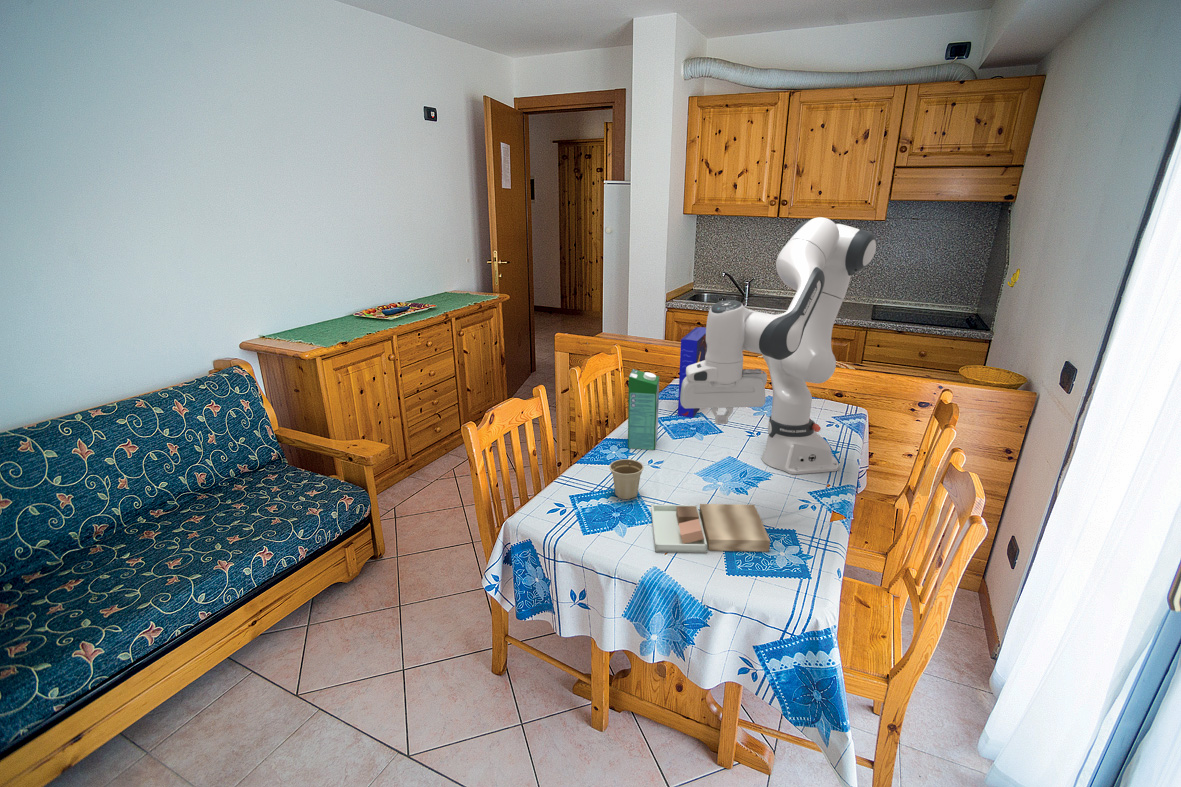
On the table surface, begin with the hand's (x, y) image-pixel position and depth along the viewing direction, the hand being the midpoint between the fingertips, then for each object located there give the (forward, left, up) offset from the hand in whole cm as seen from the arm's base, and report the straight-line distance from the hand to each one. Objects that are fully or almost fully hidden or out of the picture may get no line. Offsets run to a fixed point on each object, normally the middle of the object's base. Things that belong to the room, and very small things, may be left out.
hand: (721, 423), depth 138 cm
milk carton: (+17, -43, -26) cm, 53 cm away
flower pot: (+23, -9, -26) cm, 36 cm away
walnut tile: (+8, +5, -25) cm, 27 cm away
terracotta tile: (+8, +13, -24) cm, 28 cm away
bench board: (-3, +9, -26) cm, 27 cm away
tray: (+11, +9, -26) cm, 29 cm away
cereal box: (-4, -78, -26) cm, 82 cm away
